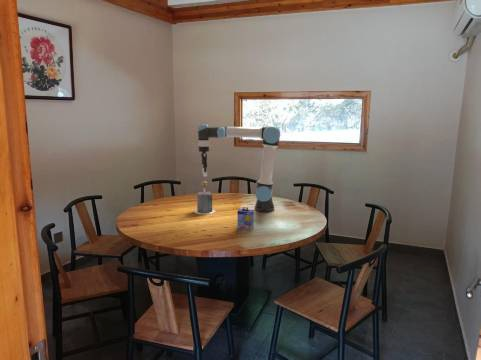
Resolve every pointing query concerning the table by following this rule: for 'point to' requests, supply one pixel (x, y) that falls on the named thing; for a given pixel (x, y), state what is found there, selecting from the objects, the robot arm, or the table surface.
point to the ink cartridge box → (245, 219)
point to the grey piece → (204, 202)
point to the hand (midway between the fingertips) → (204, 175)
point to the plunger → (204, 184)
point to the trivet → (204, 213)
